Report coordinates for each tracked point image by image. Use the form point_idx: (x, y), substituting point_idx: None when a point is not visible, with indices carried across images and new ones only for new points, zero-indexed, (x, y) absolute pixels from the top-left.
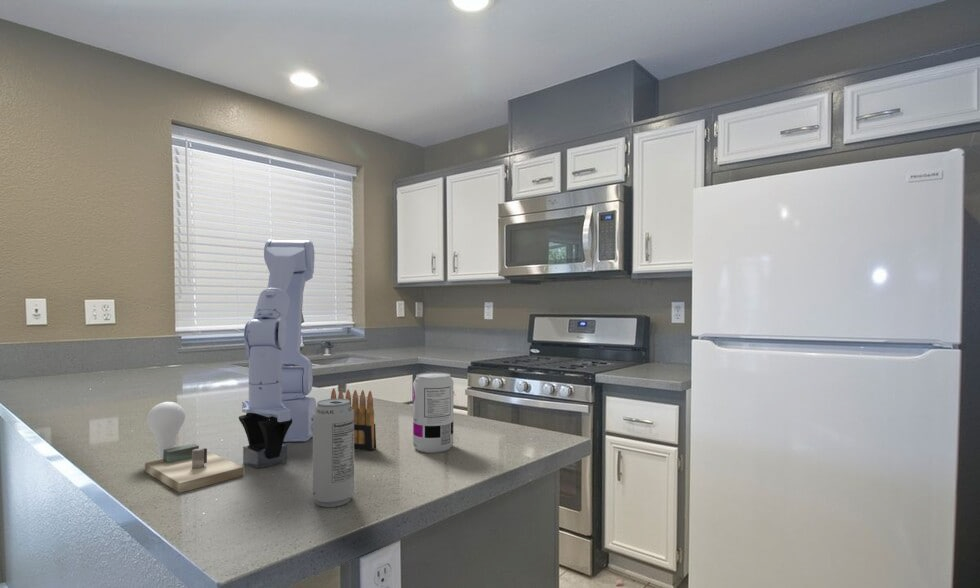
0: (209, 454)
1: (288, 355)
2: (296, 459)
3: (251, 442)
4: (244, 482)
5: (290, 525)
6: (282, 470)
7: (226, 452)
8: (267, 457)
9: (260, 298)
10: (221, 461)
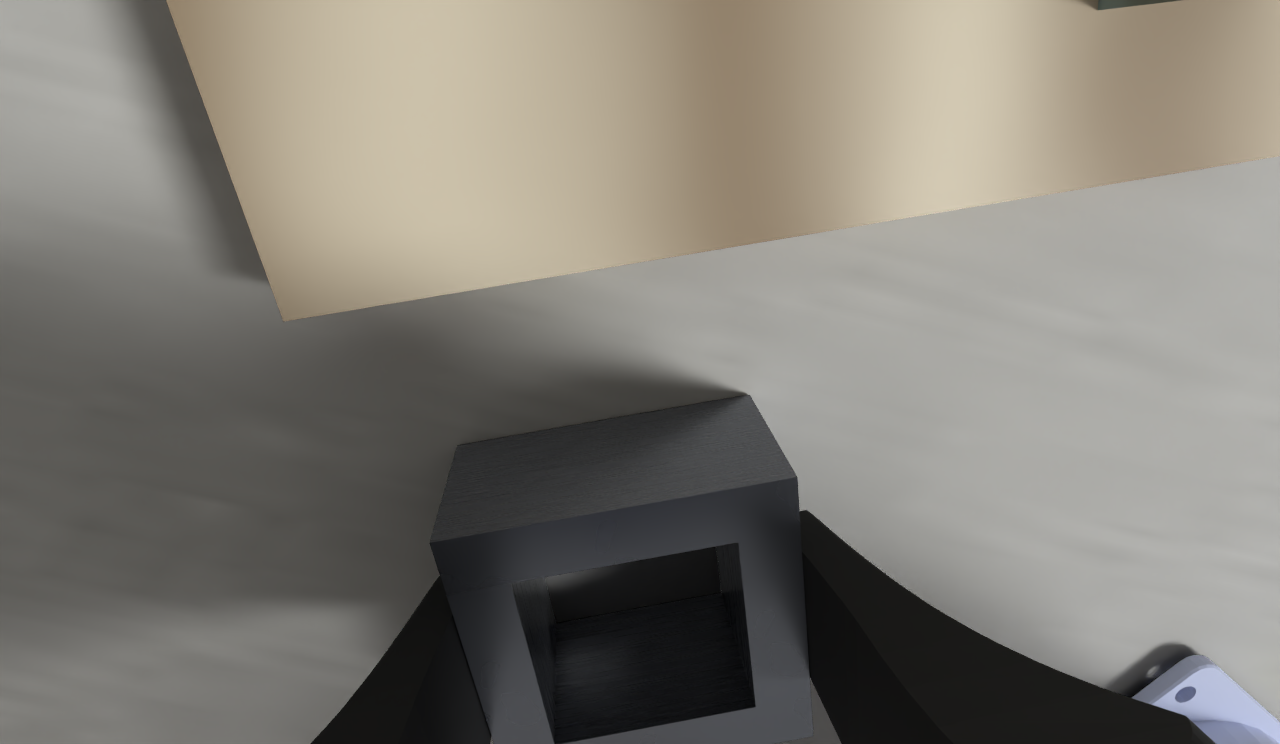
0: (1074, 145)
1: None
2: None
3: (811, 576)
4: (81, 246)
5: None
6: (279, 586)
7: (1199, 357)
8: None
9: None
10: (678, 183)
